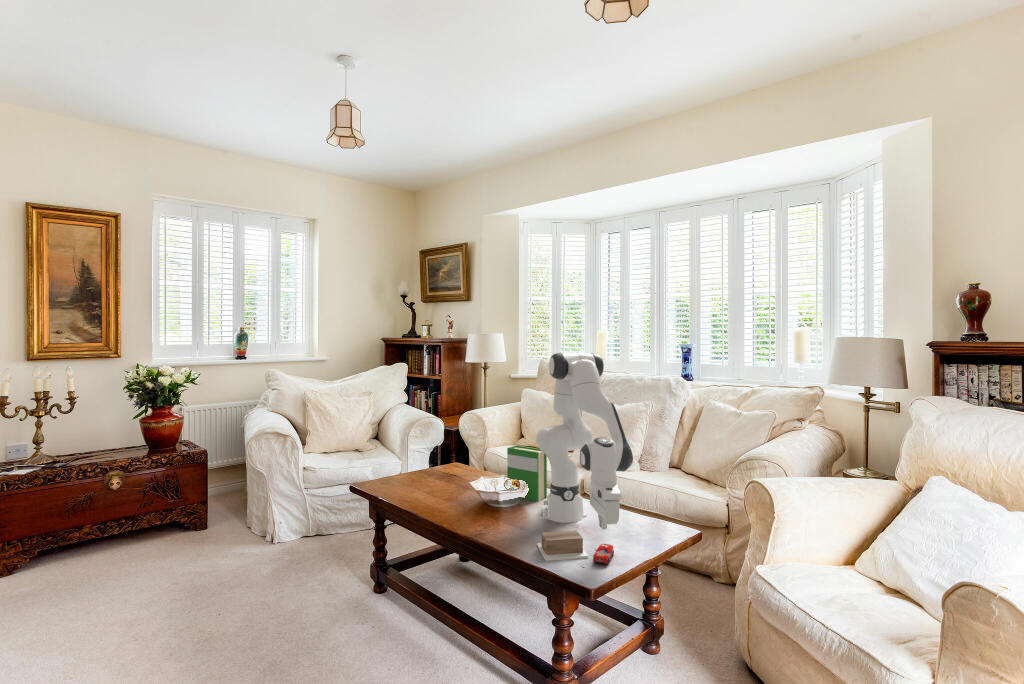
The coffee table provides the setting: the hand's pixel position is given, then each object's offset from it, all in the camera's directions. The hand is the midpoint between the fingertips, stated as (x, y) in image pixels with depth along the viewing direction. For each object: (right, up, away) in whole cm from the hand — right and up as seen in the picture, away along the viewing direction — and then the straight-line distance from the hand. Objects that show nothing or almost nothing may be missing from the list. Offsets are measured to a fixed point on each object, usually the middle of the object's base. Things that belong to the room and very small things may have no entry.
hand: (603, 527), depth 180 cm
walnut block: (-13, -11, +8) cm, 19 cm away
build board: (-13, -12, +8) cm, 20 cm away
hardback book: (-24, -12, +72) cm, 76 cm away
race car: (0, -13, -1) cm, 13 cm away
